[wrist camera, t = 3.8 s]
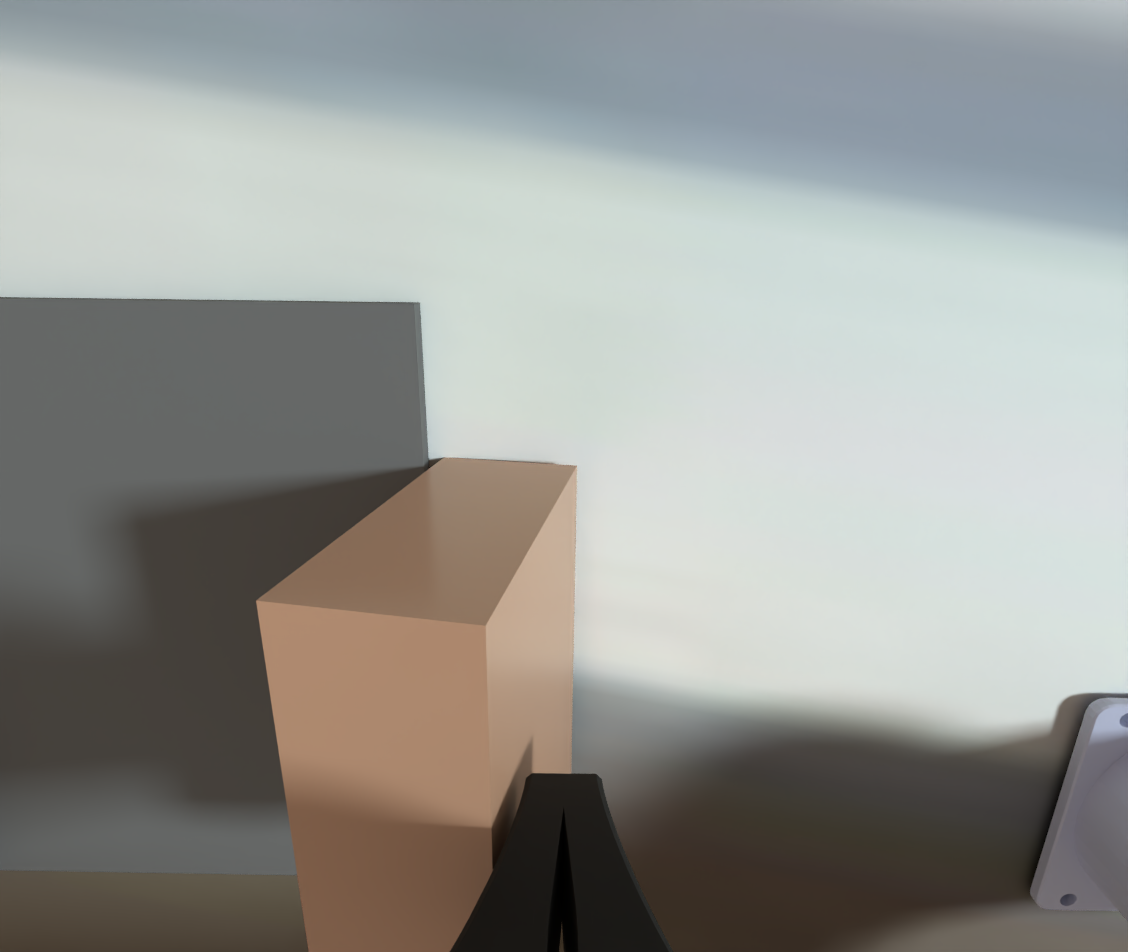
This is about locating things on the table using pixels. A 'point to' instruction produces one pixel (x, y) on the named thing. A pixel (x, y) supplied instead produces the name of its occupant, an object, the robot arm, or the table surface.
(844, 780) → the table surface
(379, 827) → the terracotta block
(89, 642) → the mat
